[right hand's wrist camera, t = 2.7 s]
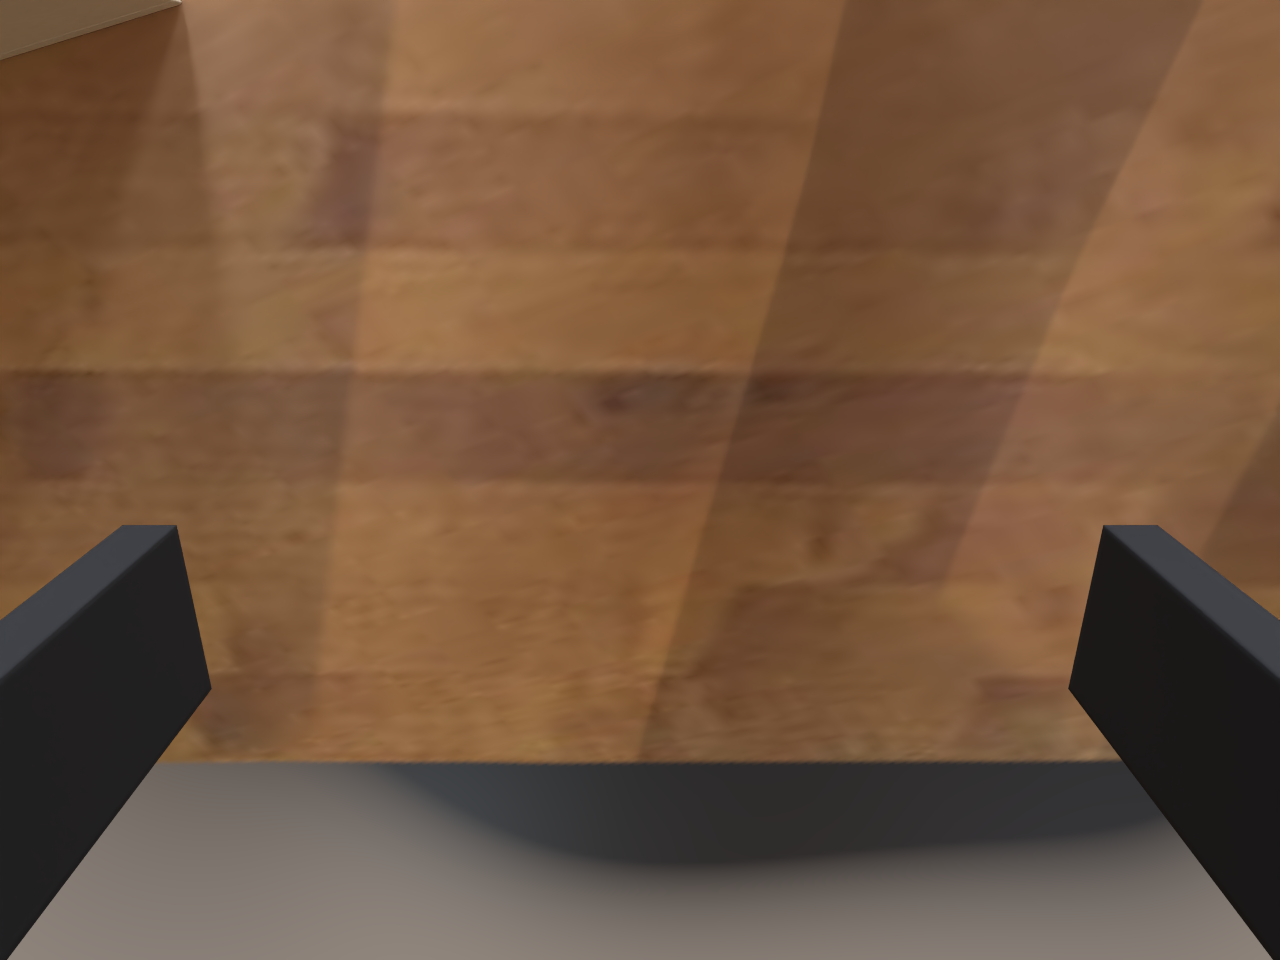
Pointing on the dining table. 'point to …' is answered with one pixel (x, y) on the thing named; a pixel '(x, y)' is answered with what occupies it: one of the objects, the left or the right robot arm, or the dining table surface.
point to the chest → (64, 20)
